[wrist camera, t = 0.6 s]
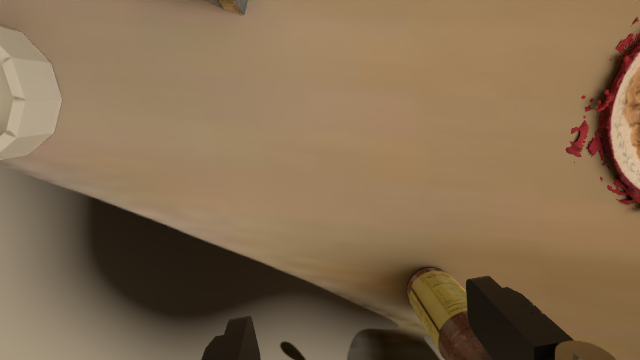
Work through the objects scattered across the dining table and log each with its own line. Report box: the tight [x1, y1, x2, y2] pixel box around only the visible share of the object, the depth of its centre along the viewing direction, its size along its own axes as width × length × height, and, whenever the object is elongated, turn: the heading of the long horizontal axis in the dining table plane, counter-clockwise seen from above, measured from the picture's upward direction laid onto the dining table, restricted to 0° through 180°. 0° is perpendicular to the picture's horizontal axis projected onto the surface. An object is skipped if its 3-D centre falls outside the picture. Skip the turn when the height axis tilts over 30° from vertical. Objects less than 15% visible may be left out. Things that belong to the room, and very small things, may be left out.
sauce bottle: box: [407, 268, 493, 360], centre depth 34 cm, size 7×6×20 cm
